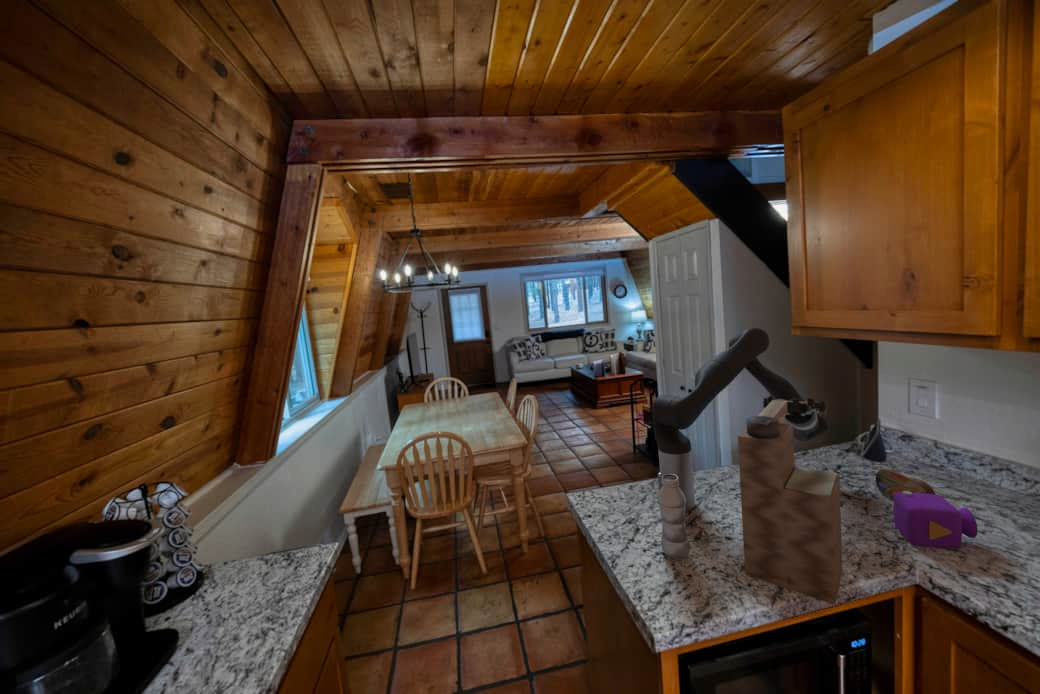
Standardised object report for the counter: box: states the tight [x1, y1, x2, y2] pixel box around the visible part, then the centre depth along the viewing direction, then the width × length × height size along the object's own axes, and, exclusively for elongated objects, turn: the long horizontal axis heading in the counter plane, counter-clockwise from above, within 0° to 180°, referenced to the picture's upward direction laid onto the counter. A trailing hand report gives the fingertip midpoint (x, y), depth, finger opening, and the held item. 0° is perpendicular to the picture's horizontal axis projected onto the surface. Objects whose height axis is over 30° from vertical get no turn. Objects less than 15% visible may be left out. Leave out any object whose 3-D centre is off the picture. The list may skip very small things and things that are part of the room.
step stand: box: [737, 422, 843, 606], centre depth 88 cm, size 16×12×32 cm
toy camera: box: [893, 491, 979, 550], centre depth 95 cm, size 11×14×10 cm
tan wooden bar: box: [745, 400, 788, 439], centre depth 92 cm, size 6×20×3 cm, turn 137°
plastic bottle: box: [657, 474, 691, 561], centre depth 99 cm, size 6×7×20 cm
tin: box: [875, 468, 937, 502], centre depth 110 cm, size 15×3×8 cm, turn 1°
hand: (789, 399), depth 108 cm, fingers open, 8 cm apart
